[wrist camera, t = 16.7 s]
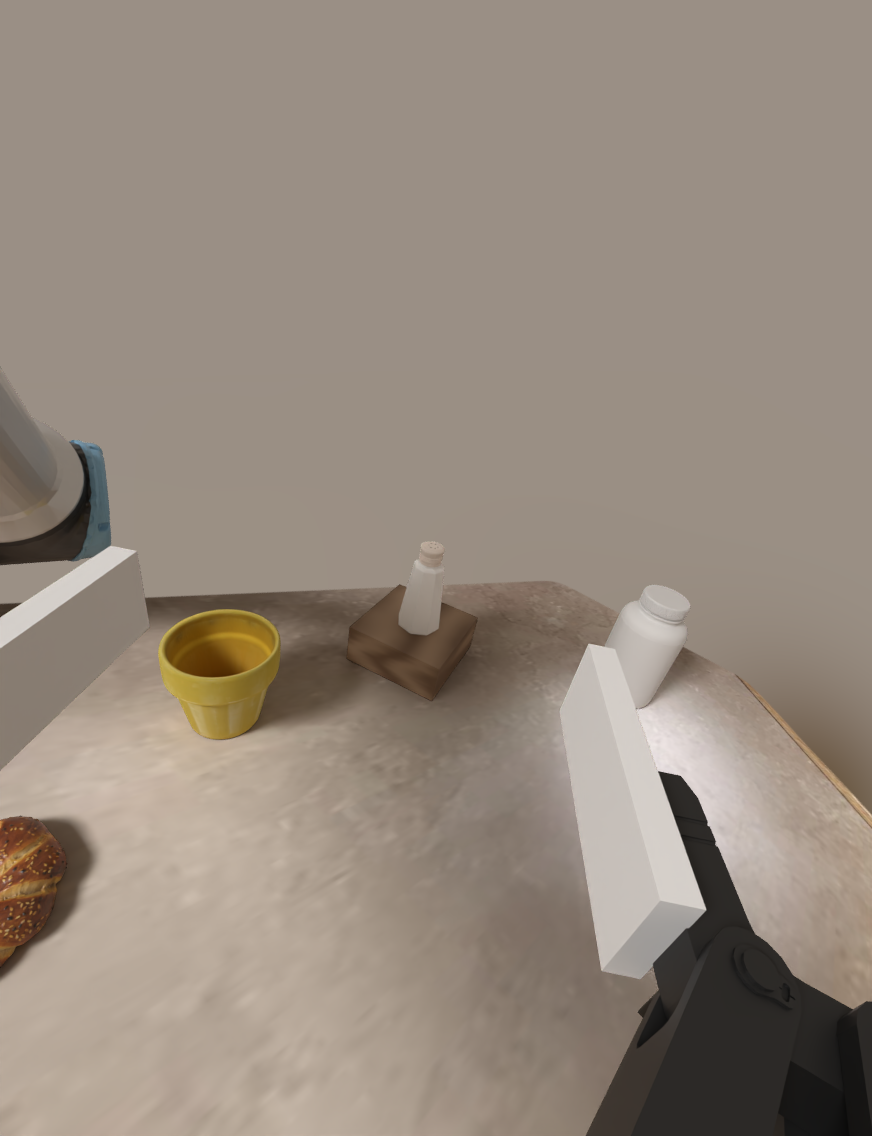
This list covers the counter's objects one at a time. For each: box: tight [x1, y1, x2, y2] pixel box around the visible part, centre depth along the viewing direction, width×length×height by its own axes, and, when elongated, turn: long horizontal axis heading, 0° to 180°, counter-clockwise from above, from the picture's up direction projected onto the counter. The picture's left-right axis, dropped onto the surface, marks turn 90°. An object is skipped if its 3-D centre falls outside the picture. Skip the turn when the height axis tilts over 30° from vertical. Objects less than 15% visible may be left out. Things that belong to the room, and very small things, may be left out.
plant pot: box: [158, 609, 280, 739], centre depth 46 cm, size 10×10×10 cm
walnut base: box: [346, 585, 478, 701], centre depth 61 cm, size 12×12×5 cm
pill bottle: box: [604, 585, 690, 709], centre depth 59 cm, size 8×8×15 cm
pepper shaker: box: [398, 541, 445, 636], centre depth 57 cm, size 5×5×11 cm
